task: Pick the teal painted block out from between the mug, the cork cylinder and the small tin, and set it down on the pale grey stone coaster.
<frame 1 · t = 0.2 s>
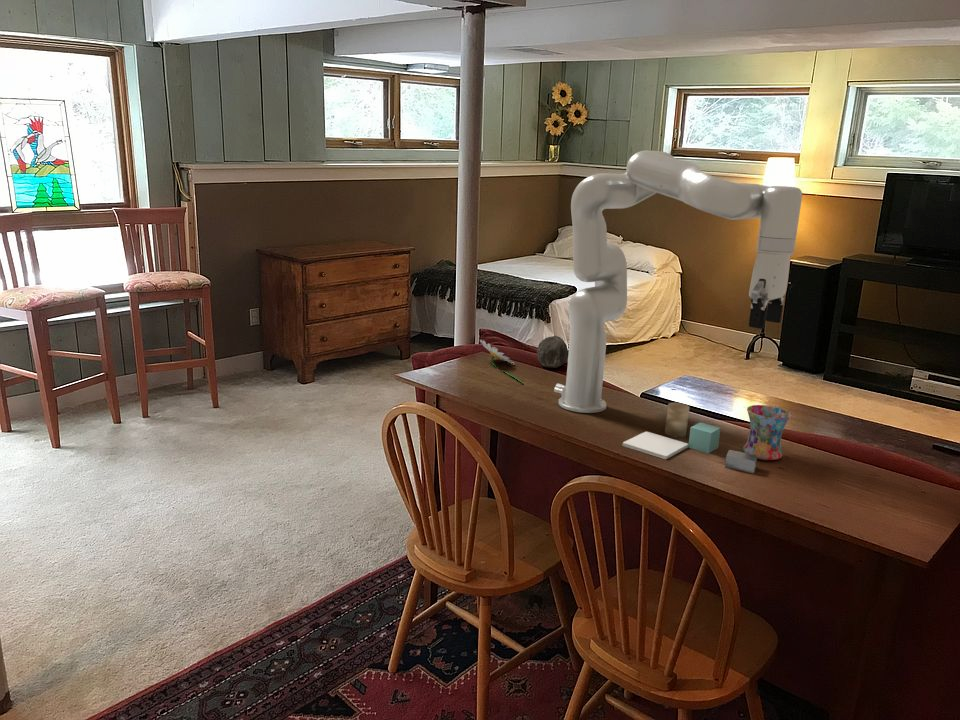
hand: (764, 324, 165), 30 cm above the table, fingers open, 9 cm apart
cork cylinder: (675, 433, 184), on the table
flower: (502, 371, 231), on the table
coaster: (655, 446, 175), on the table
block: (702, 447, 176), on the table
rock: (552, 366, 240), on the table
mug: (765, 455, 174), on the table
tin: (740, 468, 165), on the table
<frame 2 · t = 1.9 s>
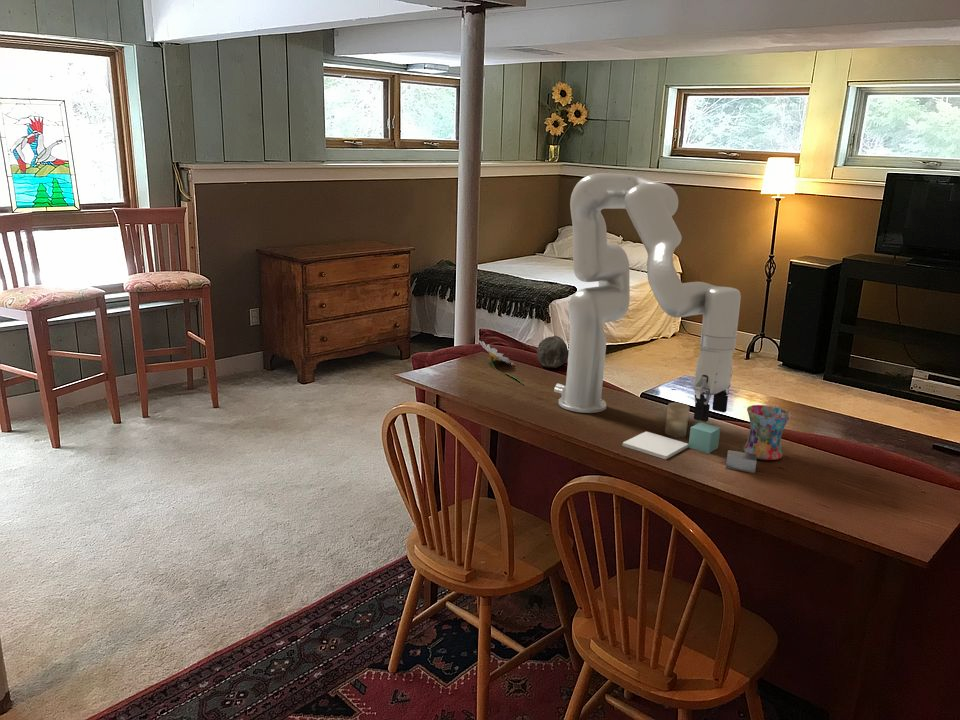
hand: (710, 415, 173), 8 cm above the table, fingers open, 9 cm apart
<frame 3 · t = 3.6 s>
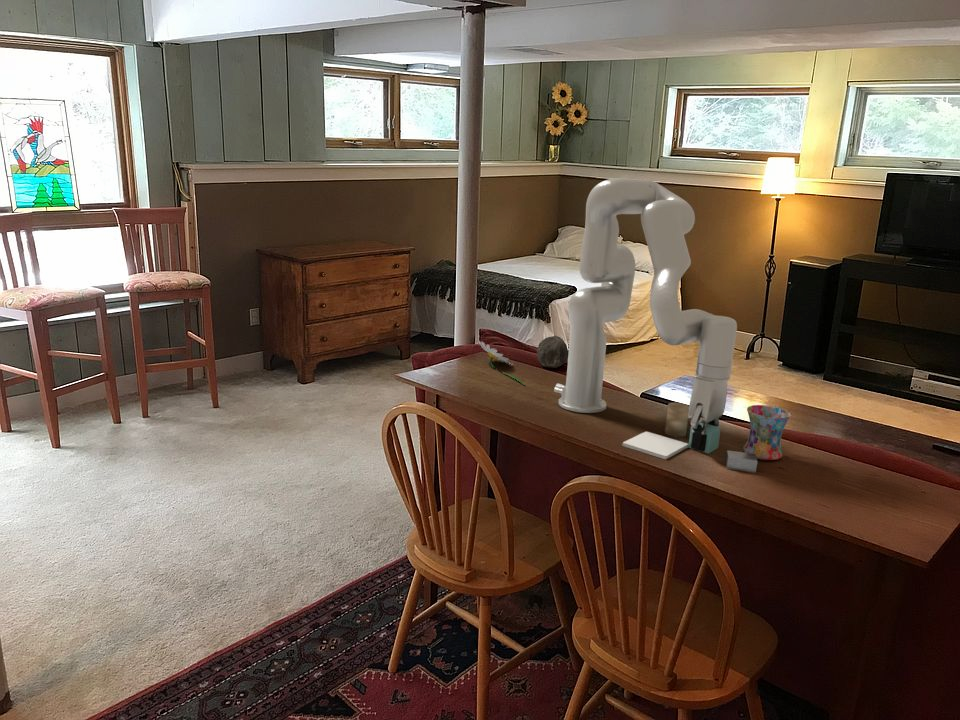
hand: (703, 445, 176), 0 cm above the table, fingers closed on block, 5 cm apart
block: (703, 447, 176), on the table, touching gripper
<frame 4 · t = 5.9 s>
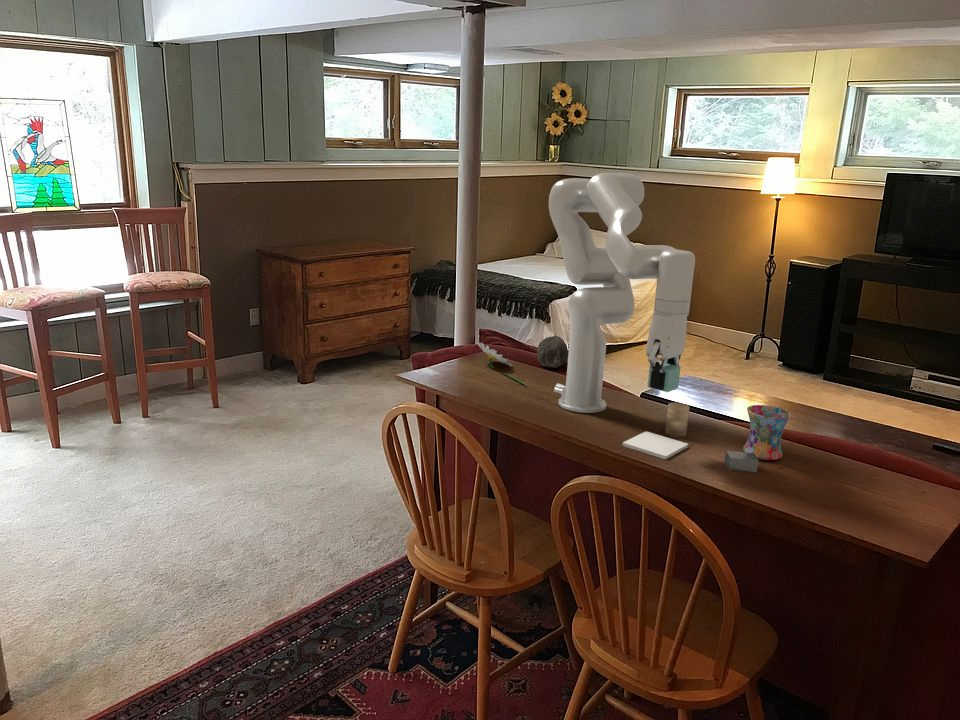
hand: (662, 385, 171), 15 cm above the table, fingers closed on block, 5 cm apart
block: (662, 387, 171), point 14 cm above the table, touching gripper
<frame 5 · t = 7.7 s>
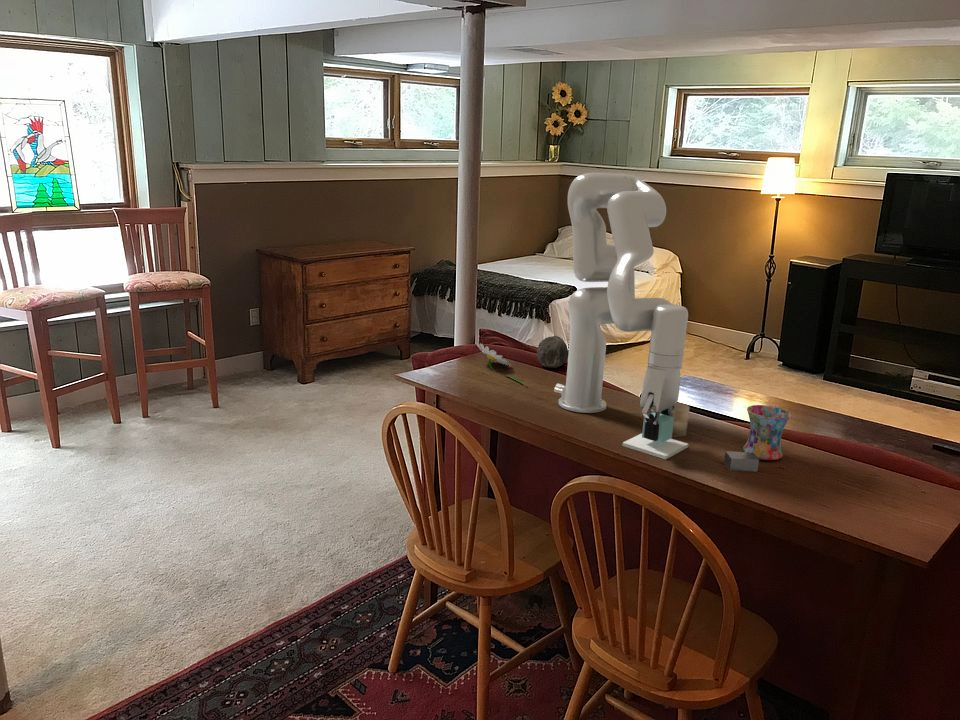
hand: (656, 435, 174), 3 cm above the table, fingers closed on block, 5 cm apart
block: (656, 437, 174), point 2 cm above the table, touching gripper
when the fingers open (3 cm above the table, at t = 8.4 s): block drops 1 cm, resting on coaster.
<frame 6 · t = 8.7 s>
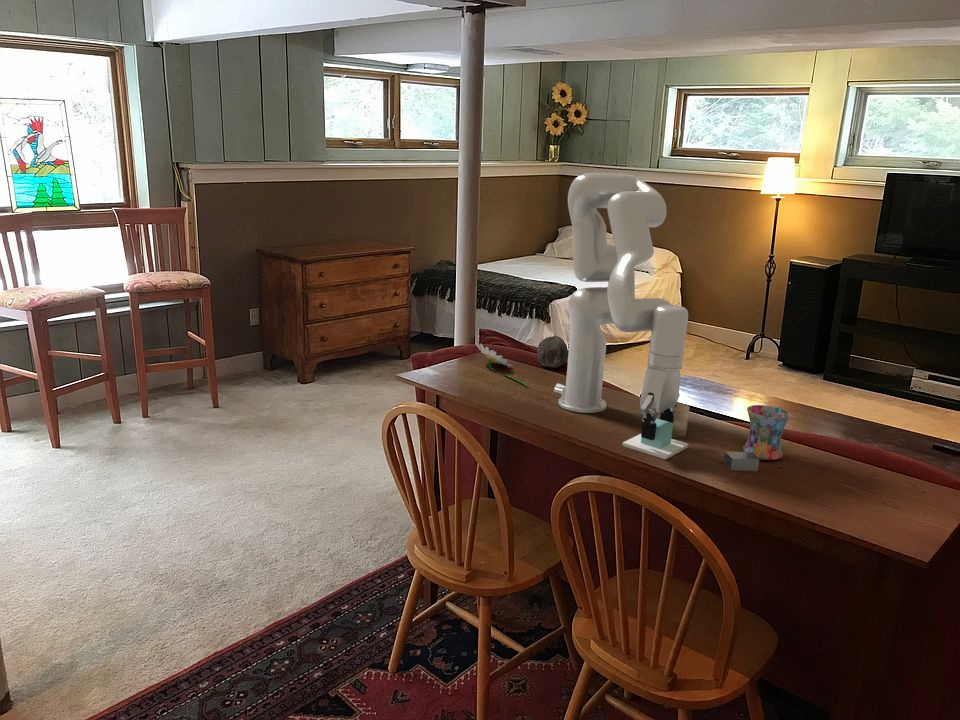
hand: (656, 433, 174), 3 cm above the table, fingers open, 7 cm apart
block: (655, 443, 175), point 1 cm above the table, touching coaster
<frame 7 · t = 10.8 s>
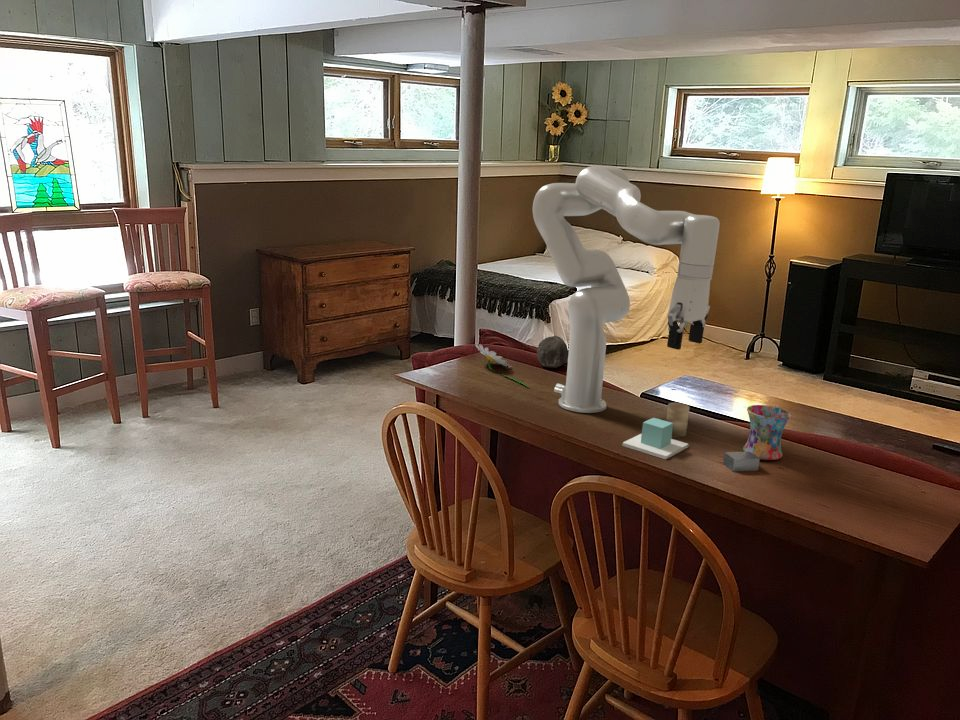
hand: (684, 345, 174), 23 cm above the table, fingers open, 9 cm apart
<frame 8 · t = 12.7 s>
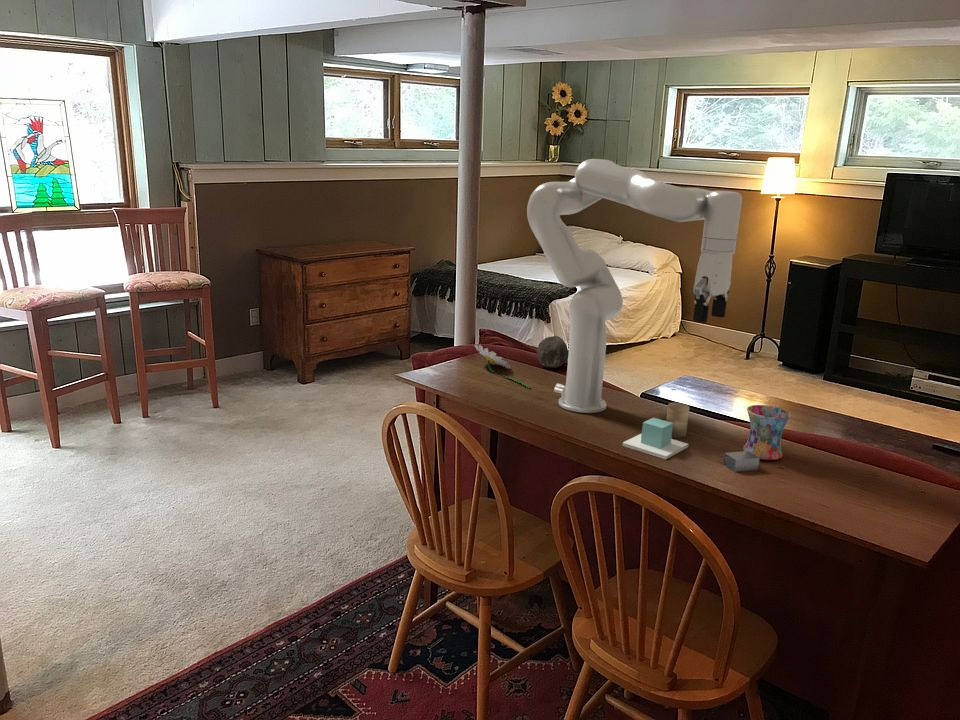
hand: (709, 319, 178), 28 cm above the table, fingers open, 9 cm apart
at the end: block inside the target area on the coaster (0.0 cm from its centre), point 0.8 cm above the coaster's base; block tilted 0°; the gripper is holding nothing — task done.
